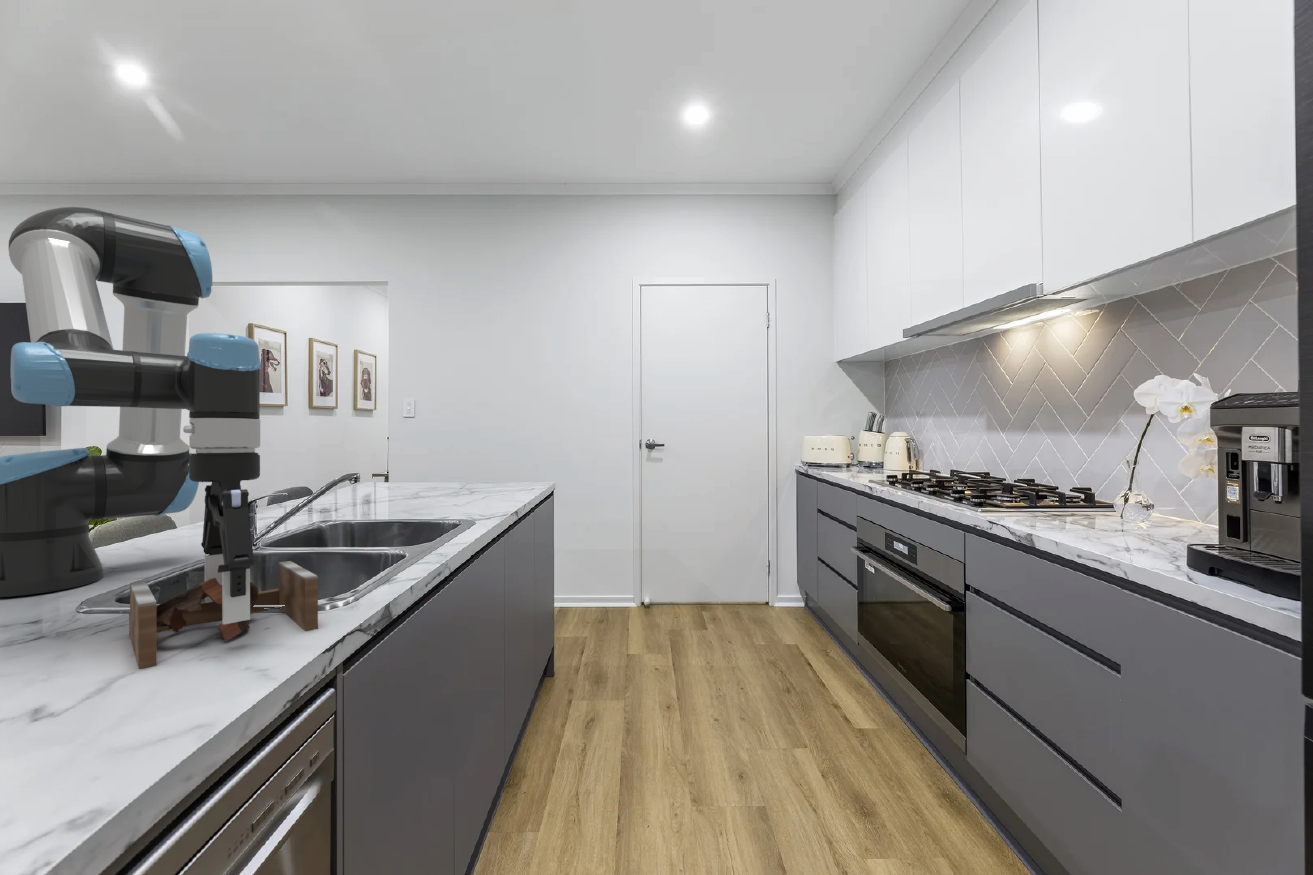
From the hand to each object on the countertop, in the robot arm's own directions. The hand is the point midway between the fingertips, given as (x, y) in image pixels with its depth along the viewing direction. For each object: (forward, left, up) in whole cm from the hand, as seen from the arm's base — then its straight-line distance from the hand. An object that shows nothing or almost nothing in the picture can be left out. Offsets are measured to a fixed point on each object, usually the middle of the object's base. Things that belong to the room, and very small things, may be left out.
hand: (226, 610), depth 75 cm
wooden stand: (0, 0, -3) cm, 3 cm away
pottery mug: (0, 0, -4) cm, 4 cm away
